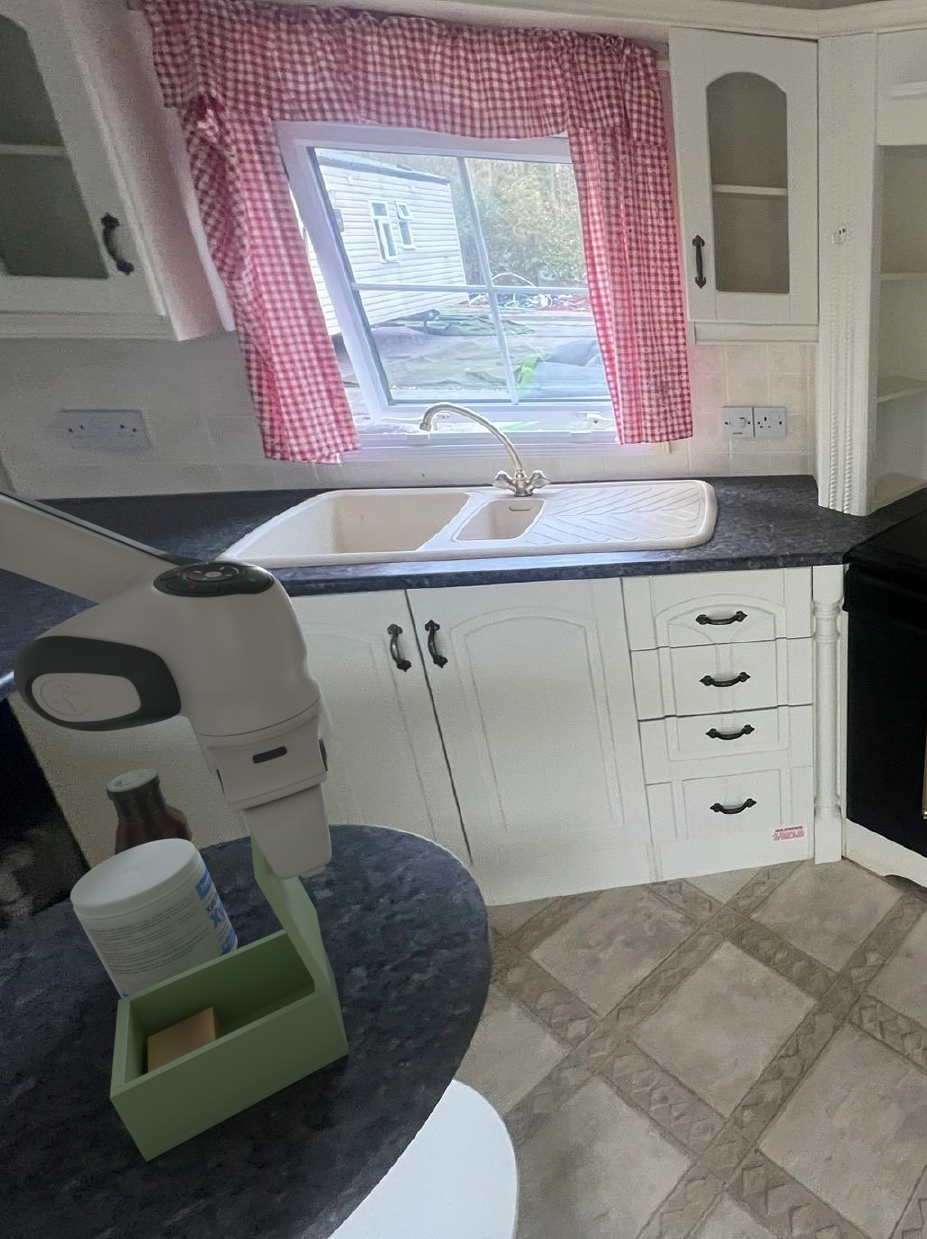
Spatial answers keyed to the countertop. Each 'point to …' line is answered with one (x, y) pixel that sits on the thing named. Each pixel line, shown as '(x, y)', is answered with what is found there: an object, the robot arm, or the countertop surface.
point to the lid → (293, 915)
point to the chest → (223, 1041)
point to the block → (183, 1038)
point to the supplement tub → (152, 914)
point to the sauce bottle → (144, 811)
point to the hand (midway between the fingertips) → (309, 851)
